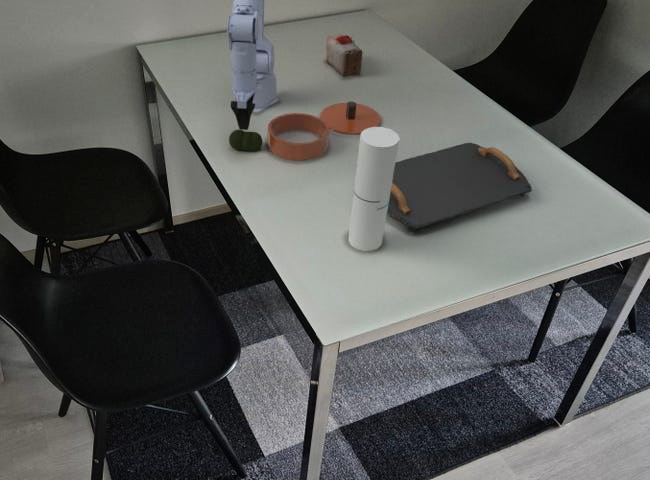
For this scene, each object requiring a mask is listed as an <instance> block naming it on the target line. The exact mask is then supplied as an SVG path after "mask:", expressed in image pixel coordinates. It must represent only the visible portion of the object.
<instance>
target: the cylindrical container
mask: <svg viewBox="0 0 650 480" xmlns="http://www.w3.org/2000/svg"><path fill="white" fill-rule="evenodd" d="M399 142H400V136H399V134H398V133H397V132H396V131H395V130H393V129H391V128H388V127H382V126H378V127H371V128H367V129H365V130H364V131H362V133H361V134H360V138H359V145H358V146H359V147H358V154H357V163H356V172H355V181H354V187H353V196H352V205H351V213H350V221H349V231H348V243H349V244H350V246H351V247H353V248H355V249H356V250H358V251H361V252H362V251H363V252H373V251H376V250H378V249H379V248H380V247H381V246H382V244H383V239H384V234H385V228H386V221H387V215H388V213H387V210H388V204H389V198H390V192H391V186H392V180H393V174H394V168H395V162H397V154H398V148H399Z"/></svg>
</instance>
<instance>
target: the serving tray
mask: <svg viewBox="0 0 650 480" xmlns="http://www.w3.org/2000/svg"><path fill="white" fill-rule="evenodd" d="M532 191H533V188H532V185H531V183H530V182H529V181H528V179H527V177H526V176H525V175H524V174H523V172H522V171H521V170H520V169H519V168H518V166H516V165H515V163H514V161H513V160H512V159H511V158H510V157H509V156H508V155H507V154H505V153H504V152H503V151H502V150H500V149H499V148H496V147H493V146H490V147H487V148H486V147H484V146H481V145H479V144H477V143H473V142H465V143H462V144H456V145H454V146H449V147H446V148H443V149H438V150H436V151H431V152H428V153H427V152H426V153H423V154H422V155H421V154H420V155H417V156H414V157H409V158H406V159H403V160H400V161H395V168H394V174H393V180H392V186H391V192H390V198H389V204H388V210H387V215H389V216H390V217H392V218H393V219H396V220H397V221H399V222H401V223H403V224H405V225H406V227H407V230H408V232H409V233H414V232H415V231H417V230H418V229H420V228H424V227H428V226H430V225H433V224H436V223H439V222H442V221H446V220H450V219H454V218H456V217H458V216H460V215H463V214H467V213H472V212H475V211H479V210H481V209H483V208H487V207H489V206H492V205H493V206H494V205H496V204H501V203H502V202H504V201H507V200H511V199H514V198H518V197H520V198H524V196H526V195H527V194H529V193H532Z"/></svg>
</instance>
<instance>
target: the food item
mask: <svg viewBox="0 0 650 480" xmlns="http://www.w3.org/2000/svg"><path fill="white" fill-rule="evenodd" d="M353 37H354V35H352V36H349V35H348V34H347V35H344V34H340V33H334V34H331V35H328V36H327V37H326V46H325V48H326V49H325V51H326V55H325V56H326V57H325V58H326V60H325V61H326V62H327V63H328V64H329V65H330V66H332V67H333V68H334V69H335V70H336V71H337V72H338V73H339V74H340V75H341V76H342V77H343V78H348V77H349V78H350V77H353V76H360V75H361V72H362V63H363V50H362V49H361V48H360V47H359V46H358V45H357V44H356V43H355V40H353Z"/></svg>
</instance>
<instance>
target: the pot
mask: <svg viewBox="0 0 650 480" xmlns="http://www.w3.org/2000/svg"><path fill="white" fill-rule="evenodd" d="M293 130H297V131H306V132H311V133H313V134H316V135H317V136H319V138H318V139H316V140H313V141H308V142H293V141H287V140H284V139H281V138H279V137H277V135H278V134H280V133H283V132H286V131H293ZM329 136H330V129H329V127H328V125H327V124H326V122H324V121H323V120H322V119H320V117H318V116H315V115H313V114H308V113H304V112H291V113H284V114H281V115H278V116H276V117H275V118H273V119H272V120H270V122H269V123H268V125H267V147H268V150H269V151H270V152H272V154H274V155H275V156H277V157H279V158H281V159H284V160H289V161H294V162H303V161H309V160H312V159H315V158H318V157H320V156H322V155H323V154H324V153H326V151H327V150H328V148H329Z"/></svg>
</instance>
